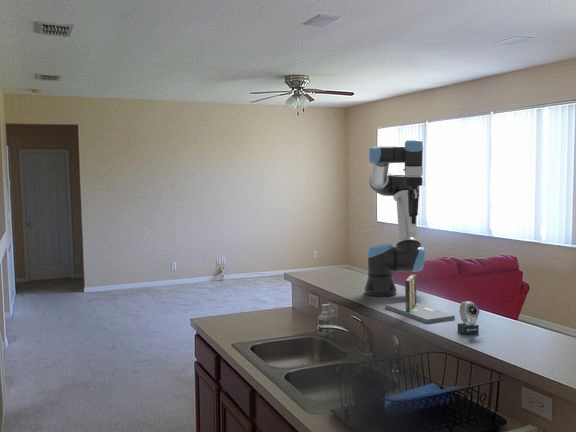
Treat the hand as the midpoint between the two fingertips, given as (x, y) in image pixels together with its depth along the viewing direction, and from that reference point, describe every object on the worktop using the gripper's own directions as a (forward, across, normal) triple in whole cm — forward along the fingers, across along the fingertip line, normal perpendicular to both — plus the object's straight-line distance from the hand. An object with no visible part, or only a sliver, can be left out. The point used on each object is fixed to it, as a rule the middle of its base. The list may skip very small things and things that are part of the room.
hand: (412, 231), depth 235 cm
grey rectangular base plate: (+31, +19, -1) cm, 37 cm away
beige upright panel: (+29, +15, -4) cm, 33 cm away
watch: (+30, +48, +10) cm, 57 cm away
